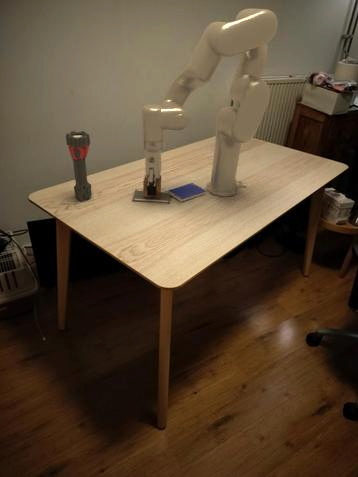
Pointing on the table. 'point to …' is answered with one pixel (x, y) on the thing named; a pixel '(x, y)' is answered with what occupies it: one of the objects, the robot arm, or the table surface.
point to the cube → (158, 187)
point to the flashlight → (79, 162)
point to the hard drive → (186, 192)
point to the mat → (140, 198)
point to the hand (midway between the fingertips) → (152, 190)
